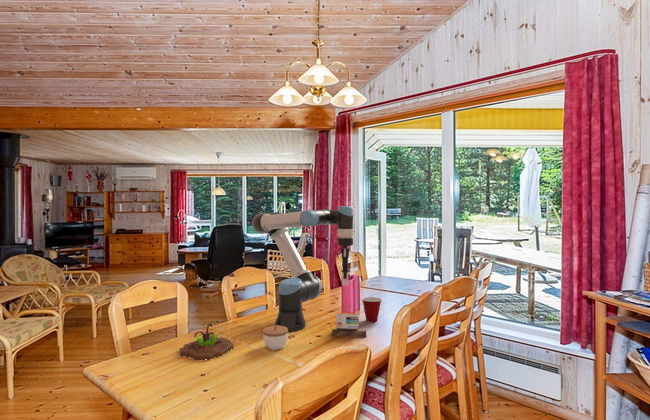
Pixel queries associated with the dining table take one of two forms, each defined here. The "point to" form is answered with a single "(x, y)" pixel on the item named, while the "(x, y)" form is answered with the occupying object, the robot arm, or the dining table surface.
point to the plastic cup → (371, 308)
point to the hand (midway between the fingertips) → (345, 284)
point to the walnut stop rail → (349, 333)
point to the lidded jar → (275, 337)
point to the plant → (206, 346)
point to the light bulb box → (347, 321)
